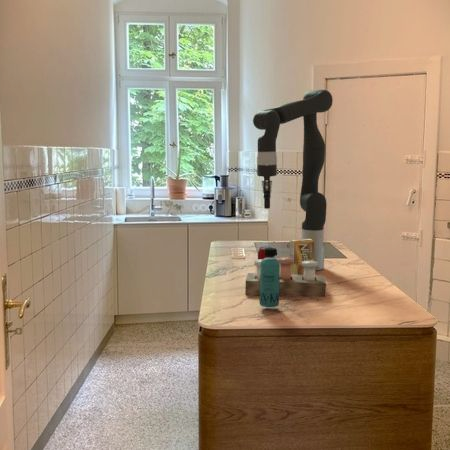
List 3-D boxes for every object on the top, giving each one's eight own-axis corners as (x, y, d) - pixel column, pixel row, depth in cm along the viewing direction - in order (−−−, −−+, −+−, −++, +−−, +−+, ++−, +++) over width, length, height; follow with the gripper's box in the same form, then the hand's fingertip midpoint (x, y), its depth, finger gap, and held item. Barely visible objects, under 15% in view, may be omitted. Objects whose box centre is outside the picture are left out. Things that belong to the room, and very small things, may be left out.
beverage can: (273, 279, 212) (273, 249, 210) (256, 278, 213) (256, 248, 211) (275, 275, 218) (275, 246, 217) (258, 274, 220) (259, 245, 218)
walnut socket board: (245, 294, 189) (245, 280, 189) (247, 286, 201) (247, 273, 200) (325, 297, 186) (326, 283, 186) (323, 288, 198) (323, 275, 197)
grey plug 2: (308, 288, 197) (309, 260, 195) (320, 291, 192) (320, 262, 191) (297, 290, 193) (298, 261, 192) (309, 293, 189) (309, 264, 187)
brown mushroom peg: (285, 284, 197) (286, 256, 196) (296, 287, 193) (296, 259, 191) (274, 286, 194) (274, 258, 193) (284, 290, 190) (285, 261, 188)
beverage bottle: (257, 306, 175) (258, 246, 172) (277, 306, 176) (278, 246, 173) (260, 312, 169) (261, 250, 166) (281, 312, 169) (282, 250, 166)
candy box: (308, 275, 219) (309, 238, 216) (313, 277, 215) (314, 240, 212) (289, 277, 216) (289, 239, 213) (293, 279, 212) (294, 241, 209)
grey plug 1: (262, 286, 198) (262, 258, 197) (272, 289, 194) (273, 261, 192) (250, 288, 195) (251, 260, 194) (260, 292, 191) (261, 263, 189)
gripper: (257, 163, 212) (258, 206, 215) (256, 164, 199) (257, 210, 202) (276, 162, 212) (276, 206, 214) (276, 164, 199) (276, 210, 201)
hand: (267, 208), depth 208 cm, fingers closed
